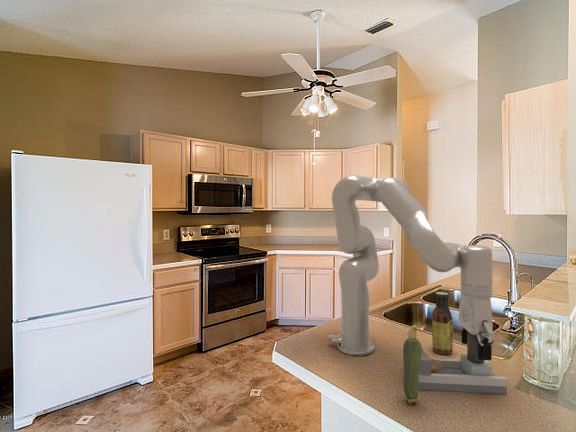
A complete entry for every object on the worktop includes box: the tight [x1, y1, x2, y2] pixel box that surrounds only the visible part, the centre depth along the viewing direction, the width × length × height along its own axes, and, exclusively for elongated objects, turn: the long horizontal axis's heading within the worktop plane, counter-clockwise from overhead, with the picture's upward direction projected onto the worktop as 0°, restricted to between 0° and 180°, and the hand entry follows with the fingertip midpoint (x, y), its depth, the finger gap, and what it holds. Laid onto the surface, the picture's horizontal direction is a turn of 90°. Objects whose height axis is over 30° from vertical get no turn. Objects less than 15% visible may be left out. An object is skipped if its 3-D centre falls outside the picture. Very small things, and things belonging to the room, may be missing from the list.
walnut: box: [430, 359, 441, 374], centre depth 89 cm, size 4×4×3 cm
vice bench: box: [418, 348, 508, 395], centre depth 89 cm, size 23×10×8 cm, turn 84°
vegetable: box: [402, 324, 423, 405], centre depth 80 cm, size 4×4×20 cm
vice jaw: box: [460, 331, 492, 376], centre depth 88 cm, size 5×7×12 cm
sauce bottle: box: [431, 291, 454, 356], centre depth 107 cm, size 6×6×20 cm
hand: (475, 351), depth 88 cm, fingers open, 9 cm apart
